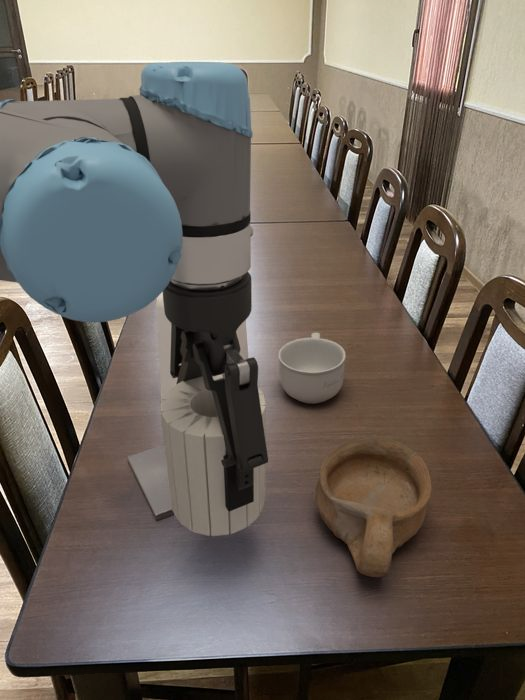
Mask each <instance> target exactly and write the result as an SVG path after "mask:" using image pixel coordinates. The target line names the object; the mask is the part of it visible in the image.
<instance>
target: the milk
mask: <svg viewBox="0 0 525 700" xmlns="http://www.w3.org/2000/svg"><path fill="white" fill-rule="evenodd" d="M155 307H156V309H155V310H156V327H157V329H156V330H157V348H158V370H159V391H160V402H161V401H162V399H163V397H164V396H165V395H166V393H167V392H168V391H169V389H171V388H172V387H173V386H175V385H177V379H178V378H173V377H172V376H171V374H170V357H171V322H170V321H169V320H168V319H167V317H166V316H165V312H164V302H163V292H162V293H161V294H160V295H159V296H158V297H157V298H156V305H155ZM236 334H237V337H238V340H239V344H240V353H239V354H240V355H241V356H242V358H243V359H248V358H249V347H248V334H247V319H246V320H245V321H244V322H243V323H242V324H241V325H240V326H239V327H238V329H237V331H236ZM179 365H181V364H179ZM221 375H222V374H221Z"/></svg>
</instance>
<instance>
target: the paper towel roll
mask: <svg viewBox="0 0 525 700" xmlns="http://www.w3.org/2000/svg"><path fill="white" fill-rule="evenodd" d="M212 377H213V379H214V380H217V379H221V378H223V376H222V375H217V376H212ZM258 392H259V399H260V406H261V413H262V420H263V427H264V434H265V441H266V440H267V439H266V438H267V437H266V436H267V434H266V433H267V432H266V431H267V429H266V428H267V403H266V397H265V395H264V392H263V391H262V390H261V389H260V388H259V387H258ZM160 418H161V428H162V436H163V437H162V438H163V445H165V454H166V463H167V471H168V480H169V488H170V497H171V506H172V510H173V512H174V514H173V515H174V516H175V518H176V520H177V522H178V523H179V524H180V525H182V526H183V527H184V528H186V529H188V531H191V532H193V533H195V534H199V535H203V536H207V537H210V536H211V537H219V536H229V535H232V534H235V533H238V532H239V531H242V530H245V529H247V527H249V526H250V525H251V524H253V523H254V521H255V520H257V519H258V518H259V517H260V515H261V513H262V511H263V509H264V505H265V501H266V464H263V465H260V466H258V467H255V468H254V502H252V503H249V504H247V505H244V506H242V507H240V508H237V509H235V510H232V511H230V512H229V511H228V510H227V508H226V507H225V484H224V466H223V465H222V462H221V460H223V456H225V455H227V450H226V446H225V442H224V435H223V434H222V430H221V426H220V422H219V418H218V414H217V410H216V406H215V402H214V398H213V394H212V392H211V391H210V390H207V389H206V388H205V385H204V381H203V377H202V376H201V377H198V378H195V379H191V380H188V381H184V382H183V381H182V382H180V383H178V384H177V385H175V386H173V387H172V388H171V389H169V391H168V392H167V393H166V395H165V396H164V397H163V399H162V401H161V400H160ZM266 442H267V441H266Z"/></svg>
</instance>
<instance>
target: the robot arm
mask: <svg viewBox="0 0 525 700" xmlns="http://www.w3.org/2000/svg"><path fill="white" fill-rule="evenodd" d="M140 73H141V74H140V81H141V83H140V84H141V85H140V87H139V94H136V95H129V96H128V97H119V98H100V99H99V98H98V99H96V98H95V99H61V100H60V99H59V100H57V99H56V100H22V101H21V100H20V101H17V100H16V99H15V98H11V99H10V98H9V99H7V98H5V99H4V100H2V101H0V281H3V282H10V283H16V284H18V285H19V286H20V288H22V290H23V292H25V293H26V294H27V295H28V296H29V298H31V299H32V300H33V301H35V302H36V303H38V304H39V305H40V306H42V307H43V308H45V309H46V310H48V311H50V312H52V313H55V314H56V315H59V316H61V317H63V318H66V319H68V320H71V321H77V322H81V323H83V322H84V323H107V322H111V321H115V320H120V319H123V318H126V317H128V316H130V315H132V314H135V313H137V312H139V311H141V310H142V309H144V308H146V307H148V305H150V304H151V303H153V301H155V300H157V297H158V296H159V295H160V294H161V293H162V292H163V302H164V312H165V316H166V317H167V319H168V320H169V321H170V322H171V357H170V374H171V376H172V377H173V378H178V379H177V384H178V383H180V382H182V381H183V382H184V381H188V380H191V379H195V378H198V377H201V376H202V377H203V381H204V385H205V388H206V389H207V390H210V391H211V392H212V394H213V398H214V402H215V406H216V410H217V414H218V418H219V422H220V426H221V430H222V434H223V435H224V442H225V446H226V450H227V455H225V456H223V460H221V462H222V465H223V466H224V484H225V507H226V508H227V510H228V511H229V512H230V511H232V510H235V509H237V508H240V507H242V506H244V505H247V504H249V503H252V502H254V468H255V467H258V466H260V465H263V464H265V465H266V464H267V463H269V456H268V448H267V441H265V434H264V427H263V420H262V413H261V406H260V399H259V392H258V388H259V385H258V384H259V381H258V380H259V363H258V361H257V360H256V358H255V357H254V356H253V357H248V359H243V358H242V356H241V355H240V354H239V353H240V344H239V340H238V337H237V334H236V331H237V329H238V327H239V326H240V325H241V324H242V323H243V322H244V321H245V320H246V321H247V320H248V318H249V317H250V315H251V314H252V313H251V312H252V308H253V306H252V305H253V304H252V300H253V299H252V298H253V297H252V295H253V294H252V275H251V274H250V272H249V271H250V270H251V267H252V264H251V263H252V260H251V259H252V257H251V255H252V253H251V251H252V250H251V246H252V245H251V240H252V239H251V237H253V235H254V228H253V227H252V226H251V218H252V217H251V214H252V213H251V175H252V174H251V173H252V172H251V169H252V166H251V165H252V164H251V163H252V139H253V133H254V132H253V130H252V116H251V115H252V114H251V113H252V111H251V98H250V94H249V93H250V92H249V83H248V78H247V76H246V74H245V73H244V71H243V70H242V69H241V68H240V67H239V66H238V65H236V64H232V63H230V62H219V61H170V62H152V63H148V64H146V65H145V66H144V67H143V69H142V70H141V72H140ZM179 364H181V365H179ZM221 374H222V376H223V378H221V379H217V380H214V379H213V377H212V376H217V375H221Z"/></svg>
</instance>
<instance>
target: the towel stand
mask: <svg viewBox="0 0 525 700" xmlns="http://www.w3.org/2000/svg"><path fill="white" fill-rule="evenodd" d="M126 459H127V463H128V465H129V467H130V469H131V471H132V473H133V476H134V477H135V480H136V482H137V484H138V486H139V488H140V490H141V492H142V494H143V496H144V499H145V500H146V503H147V504H148V506H149V508H150V509H149V510H151V513H152V515H153V517H154V519H155V521H156V522H157V521H159V520H162V519H165V518H166V517H170V516H173V515H175V514H174V512H173V510H172V506H171V497H170V488H169V480H168V471H167V463H166V454H165V445H164V444H162V445H159V446H155V447H153V448H150V449H147V450H144V451H141V452H138V453H134V454H131V455H129V456H127V457H126Z"/></svg>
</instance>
